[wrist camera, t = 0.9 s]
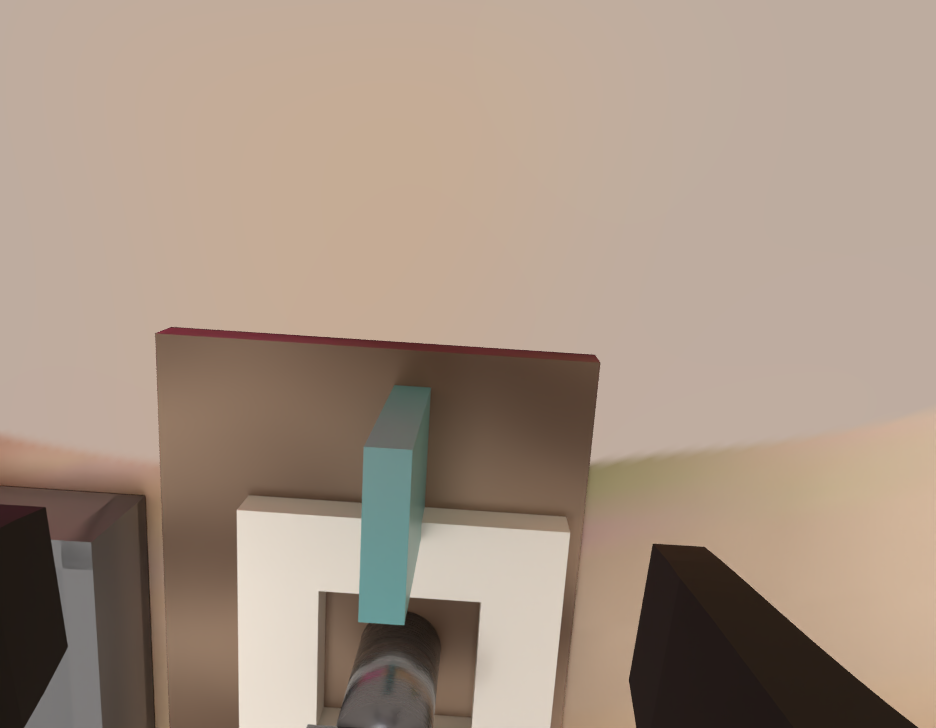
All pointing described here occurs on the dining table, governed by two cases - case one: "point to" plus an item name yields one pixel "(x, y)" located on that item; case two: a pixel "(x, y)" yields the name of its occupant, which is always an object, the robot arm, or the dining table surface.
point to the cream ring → (396, 583)
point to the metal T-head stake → (393, 677)
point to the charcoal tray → (97, 609)
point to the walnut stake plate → (349, 480)
